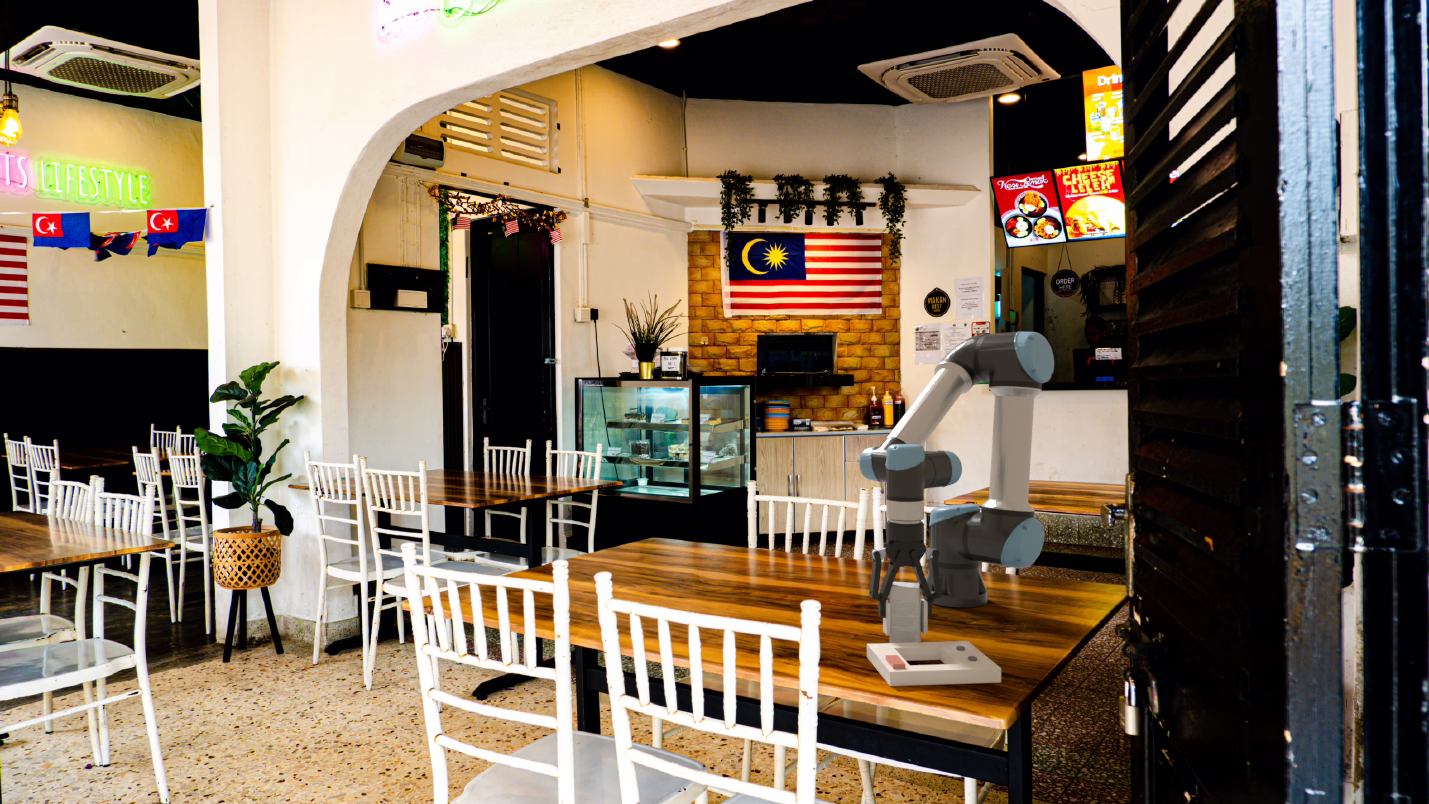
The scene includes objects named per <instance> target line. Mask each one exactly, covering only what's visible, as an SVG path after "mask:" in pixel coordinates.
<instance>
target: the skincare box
mask: <svg viewBox="0 0 1429 804" xmlns="http://www.w3.org/2000/svg"><path fill="white" fill-rule="evenodd" d="M921 594H922V593H921V589H920V584H919V583H918V582H904V581H894V582H893V584H892V587H891V590H890V593H889V595H888V602H890V635H889V643H915V642H922V632H921V599H922V598H921Z"/></svg>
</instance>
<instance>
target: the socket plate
mask: <svg viewBox="0 0 1429 804" xmlns="http://www.w3.org/2000/svg"><path fill="white" fill-rule="evenodd" d="M866 658H867V660H869V662H870V663H871V665H873V667H874V668H875V669H876V670H877V671H878V673H879V674H880V676H881V677H882V678H883V679H884V680H885V682H886V683H887V685H888V686H890V687H900V686H901V687H904V686H906V687H907V686H908V687H909V686H931V685H932V686H933V685H961V684H962V685H964V684H992V683H998V684H999V683H1002V668H1001V667H1000V666H999V665H998V664H997V663H996V662H994V661H993V660H992V659H991V658H989V657H988V656H986V654H984V653H983V652H982V651H980V649H978V648H977V647H976V646H974V645H973V644H972V643H971V642H969V641H968V640H955V641H924V642H923V641H921V642H915V643H890V642H887V643H886V642H885V643H883V642H882V643H866ZM937 660H938V661H939V660H940V661H941V662H942V664H941V663H940V664H917V665H915V664H914V665H910V664H909V663H908V662H907V661H910V662H911V661H937Z"/></svg>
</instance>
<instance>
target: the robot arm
mask: <svg viewBox="0 0 1429 804" xmlns="http://www.w3.org/2000/svg"><path fill="white" fill-rule="evenodd" d="M1054 370H1055V359H1054V353H1053V349H1052V347H1051V345H1050V343H1049V342H1048V340H1047V339H1046V337H1045V336H1044V335H1042V334H1041V333H1039V332H1036V331H1020V330H1019V331H1011V332H996V333H980V334H977V335H973V336H971V337H968V338H967V339H964V340H963V341H961V342H960V343H958V344H957V345H956V346H955V347H953V348H952V349H951V350H949V352H948V353H947V354H946V355H944V357H943V358H941V360H940V361H939V362H938V364H937V365H936V366H935V368H934V376H933V377H932V378H931V380H930V381H929V382H928V384H927V385H926V386H925V387H924V389H922V391H921V392H920V394H919V395H918V396H917V398H916V399H915V400H914V402H913V403H912V404H911V406H910V407H909V408H908V409H907V411H906V412H905V413H904V415H903V416H901V418H900V419H899V421H898V422H897V423H896V425H895V426H894V427H893V429H892V430H891V431H890V433H889V434H888V435H887V436H886V438H885V439H884V440H883V441H882V443H881V444H880V446H873V447H867V448H865V449H864V450H863V451H862V452H861V454H860V457H859V462H858V465H859V470H860V472H861V474H862V476H863V477H864V479H866V480H870V481H875V482H879V483H886V496H885V497H886V503H885V504H886V507H885V508H886V509H885V510H886V512H885V513H886V514H885V517H886V518H887V519H888V520H887V521H886V525H885V536H886V537H885V538H886V539H885V540H886V541H885V544H884V546H883V547H882V548H879V549H876V548H873V549H871V550H870V554H871V558H872V564H871V565H872V566H871V573H870V583H869V590H868V595H869V597H870V598H871V599H872V600H874V601H877V602H878V603H877V604H878V610H877V611H878V612H877V613H878V616H879V618H881V619H882V632H883V633H884V634H885V635H886V636H890V602H889V600H888V599H889V593H890V590H891V587H892V584H893V582H895V579H896V576H897V573H898V572H899V570H900V568H904V567H910V568H912V569H913V572H914V575H915V579H916V581H917V583H919V584H920V592H921V594H922V598H921V634H923V635H928V633H929V631H928V630H929V629H928V627H929V625H928V619H929V618H931V617H932V616H933V605H936V606H937V605H938V606H942V607H948V608H949V607H950V608H975V607H981V606H984V605H986V604H987V603H988V591H987V587H986V585H985V582H984V578H983V576H982V572H981V568H980V567H981V566H980V564H981V563H984V564H990V565H996V566H1001V567H1005V568H1007V569H1008V568H1011V569H1012V568H1013V569H1026V568H1029V567H1031V566H1032V565H1033V564H1034V563H1035V562H1036V560H1037V559H1038V557H1039V556H1040V554H1041V553H1042V550H1043V545H1044V542H1045V530H1044V528H1043V527H1044V526H1043V523H1042V522H1041V521H1040V520H1038V519H1037V518H1036V517H1035V509H1034V508H1033V506H1032V504H1030V502H1029V493H1030V492H1029V491H1030V478H1031V477H1030V474H1031V472H1030V471H1031V459H1032V457H1031V455H1032V442H1033V441H1032V440H1033V423H1034V422H1033V421H1034V408H1035V407H1034V405H1035V398H1036V397H1037V396H1038V395H1039V394H1040V393H1041V392H1042V387H1043V386H1042V385H1043V384H1044V383H1046V382H1048V381H1050V380H1051V378H1052V375H1053V374H1054ZM980 383H981V384H982V383H988V390H989V391H990V392H991V393H992V395H993V396H994V408H993V409H994V410H993V424H992V442H991V457H990V459H991V460H990V471H989V473H990V474H989V475H990V476H989V490H988V492H989V493H988V499H987V500H986V501H985V502H984V503H982V504H981V507H980V505H979V504H976V503H975V504H974V503H965V504H963V503H962V504H950V505H942V506H941V505H939V506H936V507H934V508H932V510H931V511H930V517H929V518H930V519H929V525H928V526H929V547H927V546H926V544H925V523H924V522H923V521H924V519H925V489H926V490H927V489H935V488H946V487H948V486H952V485H954V484H955V483H957V482H958V481H959V480H960V478H961V476H962V473H963V464H962V461H961V459H960V458H959V456H958V455H957V454H956V453H954V452H952V451H949V450H941V449H940V450H935V451H934V450H933V451H930V450H925V448H924V447H923V446H924V444H925V443H926V442H927V441H928V439H929V438H930V436H932V434H933V433H934V431H935V430H936V428H937V427H938V425H940V423H941V422H942V420H943V419H944V418H945V416H946V415H947V414H948V412H949V411H950V409H951V408H952V407H953V406H954V405H955V403H956V402H957V401H958V399H959V398H960V396H961V395H964V394H967V393H968V392H969V391H970V390H971V389H972V388H973V386H975V385H977V384H980ZM885 555H886V556H887V557H888V558H889V561H888V565H887V570H886V572H885V575H884V579H883V581H882V584H881V586H880V583H881V573H882V564H883V563H882V560H884V559H885ZM924 555H926V558H927V560H928V561H927V563H928V573H927V575H926V576H925V573H924V571H923V566H922V563H921V559H922V558H923V557H924Z"/></svg>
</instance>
